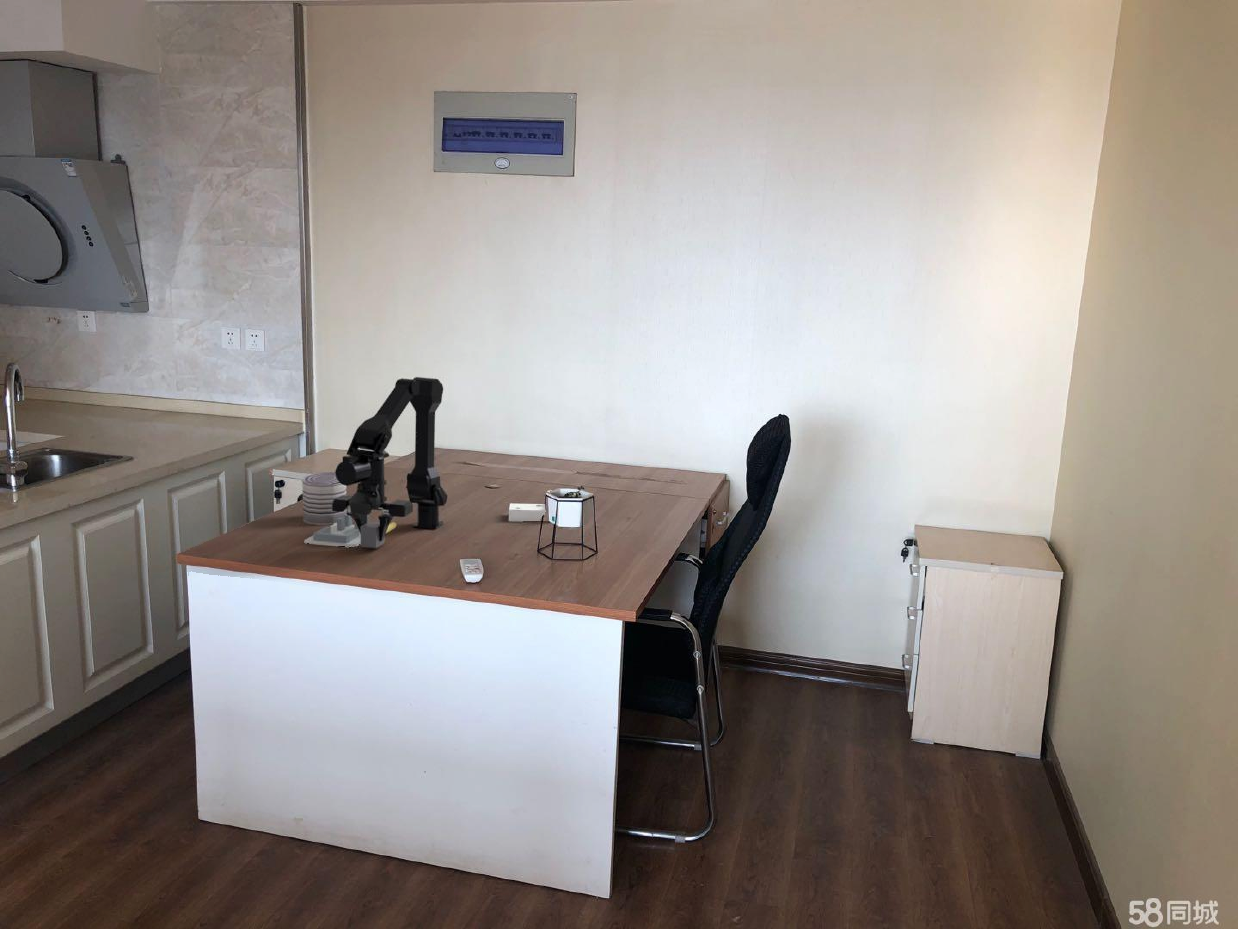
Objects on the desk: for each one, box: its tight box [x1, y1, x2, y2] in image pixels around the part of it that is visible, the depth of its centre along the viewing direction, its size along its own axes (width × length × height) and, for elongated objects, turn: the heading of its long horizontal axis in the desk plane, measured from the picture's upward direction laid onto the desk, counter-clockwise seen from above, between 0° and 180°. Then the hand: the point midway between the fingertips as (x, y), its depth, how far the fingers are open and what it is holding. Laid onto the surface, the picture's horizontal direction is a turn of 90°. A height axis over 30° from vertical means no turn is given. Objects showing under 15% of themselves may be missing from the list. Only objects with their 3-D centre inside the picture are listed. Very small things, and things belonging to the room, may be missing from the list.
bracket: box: [508, 490, 551, 522], centre depth 274 cm, size 13×7×8 cm, turn 94°
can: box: [301, 471, 348, 526], centre depth 263 cm, size 11×11×12 cm
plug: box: [360, 520, 397, 549], centre depth 245 cm, size 16×4×5 cm, turn 170°
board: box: [304, 514, 370, 548], centre depth 249 cm, size 17×13×4 cm
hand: (372, 540), depth 240 cm, fingers closed on plug, 4 cm apart
